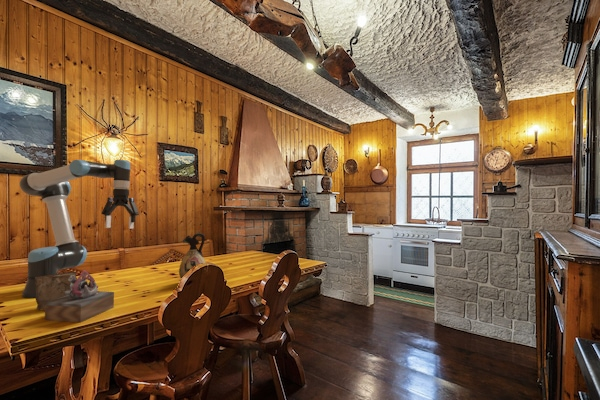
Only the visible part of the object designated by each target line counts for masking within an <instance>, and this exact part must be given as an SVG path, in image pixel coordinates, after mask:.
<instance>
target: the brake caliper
mask: <svg viewBox="0 0 600 400" xmlns="http://www.w3.org/2000/svg"><path fill="white" fill-rule="evenodd" d="M87 280H88V281H89V282H88V281H87ZM68 281H70V282H71V284H70V289H71V290H70V291H69V290H68V291H65V292H64V293H66V294H67V295H69V296H70V297H71V298H72V299H79V298H80V299H81V298H83V299H85V298H89V297H91V296H94V295H95V294H98V293H97V292H98V291H99V290H98V288H99V286H98V285H97V283H96V281H95V278H94V277H93V276H92V275H91V274H90V273H89V272H88V271H87V270H85V269H84V270H82V271H81V273H80V274H79V276H78V277H77V279H75V276H74V275H73V276H70V278H69V279H68Z"/></svg>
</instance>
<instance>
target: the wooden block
mask: <svg viewBox="0 0 600 400" xmlns="http://www.w3.org/2000/svg"><path fill="white" fill-rule="evenodd" d="M97 293H98V294H95V295H94V296H91V297H89V298H85V299H83V298H81V299H80V298H79V299H72V298H71V297H70V296H69V295H67V296H64V297H61V298H58V299H54V300H51V301H48V302H45V310H44V321H52V322H65V321H66V322H67V323H83V322H84V321H87V320H89V319H91V318H94V317H96V316H98V315H101V314H103V313H105V312H107V311H109V310H111V309H113V308H114V307H115V306H114V303H115V298H114V297H115V292H114V291H105V290H104V291H103V290H100V291H99V290H98V292H97Z"/></svg>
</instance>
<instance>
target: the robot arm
mask: <svg viewBox="0 0 600 400" xmlns="http://www.w3.org/2000/svg"><path fill="white" fill-rule="evenodd" d="M83 177H93V178H94V177H95V178H100V179H107V178H108V179H111V178H112V179H113V183H112V185H113V186H112V187H113V189H112V196H113V197H110V196H109V197H107V200H106V202H105V205H104V207H103V209H102V210H101V213H100V214H101V215H103V216H104V222H105V229H109V228H111V227H112V225H111V223H112V215H111V214H112V213H113V212H114V211H115V209H116V208H117V207H124V208H125V210H126V211H127V212H128V214H129V218H128V229H130V230H131V229H134V226H135V224H134V223H135V222H136V216H139V215H140V213H139V211H138V207H137V205H136V203H135V198H134V197H129V196H130V184H131V182H130V179H131V161H129V160H125V159H115V160H114V162H113V163H110V164H109V163H101V162H96V161H89V160H84V159H74V160H71V162H70V163H69V164H67V165H63V166H60V167H58V168H57V167H56V168H54V169H53V168H52V169H49V170H46V171H43V172H32V173H29V174H26V175H24V176H23V177H22V178H20V181H19V188H20V190H21V191H22V192H23V193H25V194H27V195H29V196H34V197H41V201H42V202H43V203H45V204H46V208H47V212H48V216H49V219H50V220H49V221H50V224H51V228H52V232H53V236H54V241H55V245H54V246H47V247H46V246H44V247H40V248H35V249H33V250H31V251H30V252H28V256H27V281H26V283H25V285H24V288H23V291H22V294H21V295H22V298H25V299H26V298H27V299H32V298H35V299H36V284H35V277H40V276H47V275H53V274H58V271H60V270H65V269H70V268H71V269H72V268H76V267H78V266H81V265H83V263H85V261H86V259H87V257H88V250H87V248H86V247H85V246H84V245H81V244H80V241H79V240H76V238H75V234H74V231H73V229H74V228H73V227H72V222H71V218H70V213H69V209H68V207H67V199H68V198H69V195H70V193H71V191H72V186H71V183H70V182H69V181H72V180H75V179H78V178H83Z"/></svg>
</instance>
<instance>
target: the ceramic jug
mask: <svg viewBox="0 0 600 400" xmlns="http://www.w3.org/2000/svg"><path fill="white" fill-rule="evenodd" d="M197 237H199V238H201V243H200V242H199V240H198V239H197ZM205 240H206V238H205V234H203V233H201V232H197V233H196V232H195V234H193V236H192V237H191V236H190V235H187V236H186V237H184V238H183V239H182V242H183V243H186V244H189V246H190V247H189V250H187V252H186V254H185V255H184V257H183V258H182V260H181V261H180V265H179V269H178V274H179V277H180V279H181V278H182V277H183V276H184V275H185V274H186V273H187V272H188V271H189V270H190V269H192V268H193V267H194V266H196V265H199V264H203V263H206V261H205V258H204V255H203V251H202V249H203V247H204V244H205ZM198 244H200V245H199V247H198V248H197V245H198ZM206 264H207V263H206Z"/></svg>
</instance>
